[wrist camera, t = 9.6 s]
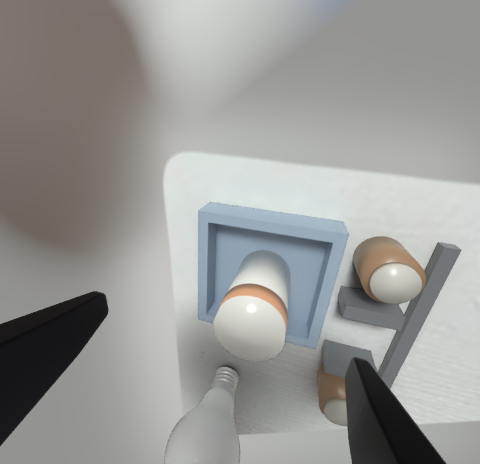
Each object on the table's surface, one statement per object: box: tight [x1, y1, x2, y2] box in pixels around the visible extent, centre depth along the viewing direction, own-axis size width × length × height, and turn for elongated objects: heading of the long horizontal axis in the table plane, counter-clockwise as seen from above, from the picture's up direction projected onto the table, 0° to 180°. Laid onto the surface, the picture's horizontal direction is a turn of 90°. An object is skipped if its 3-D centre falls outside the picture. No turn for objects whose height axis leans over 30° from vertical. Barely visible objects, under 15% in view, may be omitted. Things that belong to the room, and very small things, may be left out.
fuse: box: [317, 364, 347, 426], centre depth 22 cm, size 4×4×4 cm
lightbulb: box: [164, 367, 240, 464], centre depth 22 cm, size 6×6×11 cm
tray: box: [198, 202, 349, 349], centre depth 19 cm, size 11×11×2 cm
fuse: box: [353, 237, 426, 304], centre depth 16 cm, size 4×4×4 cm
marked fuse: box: [213, 250, 291, 361], centre depth 17 cm, size 4×4×7 cm
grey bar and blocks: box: [322, 242, 461, 389], centre depth 19 cm, size 6×18×2 cm, turn 176°
